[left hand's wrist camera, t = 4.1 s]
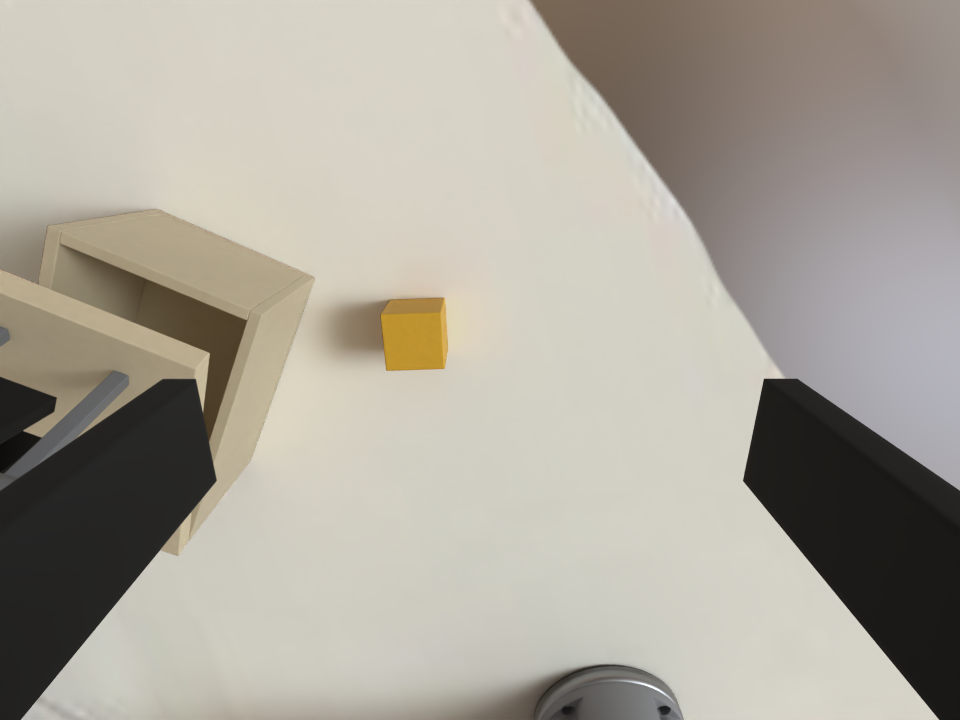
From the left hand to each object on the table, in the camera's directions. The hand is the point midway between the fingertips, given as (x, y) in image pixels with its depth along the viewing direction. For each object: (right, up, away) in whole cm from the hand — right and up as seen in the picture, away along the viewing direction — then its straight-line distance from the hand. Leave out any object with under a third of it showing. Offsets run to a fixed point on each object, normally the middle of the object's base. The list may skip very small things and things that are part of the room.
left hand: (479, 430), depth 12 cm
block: (-5, +4, +28) cm, 29 cm away
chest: (-21, +3, +29) cm, 36 cm away
